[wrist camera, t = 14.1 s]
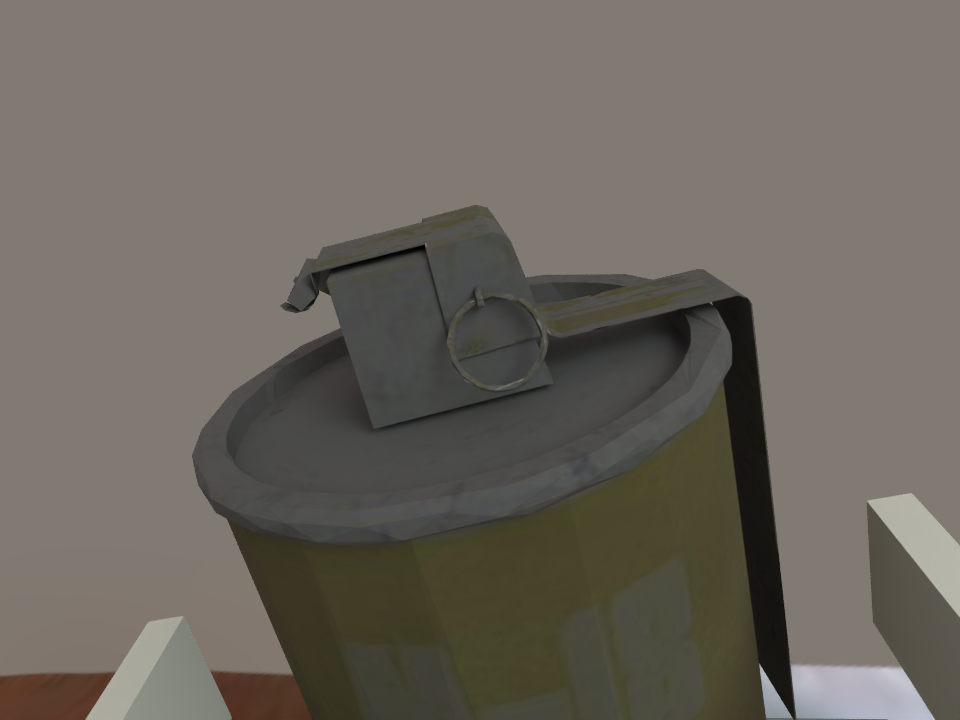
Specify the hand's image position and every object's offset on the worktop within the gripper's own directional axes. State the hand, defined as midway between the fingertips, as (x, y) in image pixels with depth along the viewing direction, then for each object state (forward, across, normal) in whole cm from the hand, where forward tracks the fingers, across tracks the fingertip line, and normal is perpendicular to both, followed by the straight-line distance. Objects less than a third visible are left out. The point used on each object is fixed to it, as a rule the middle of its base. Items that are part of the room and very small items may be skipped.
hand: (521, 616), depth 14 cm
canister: (+2, 0, -13) cm, 13 cm away
